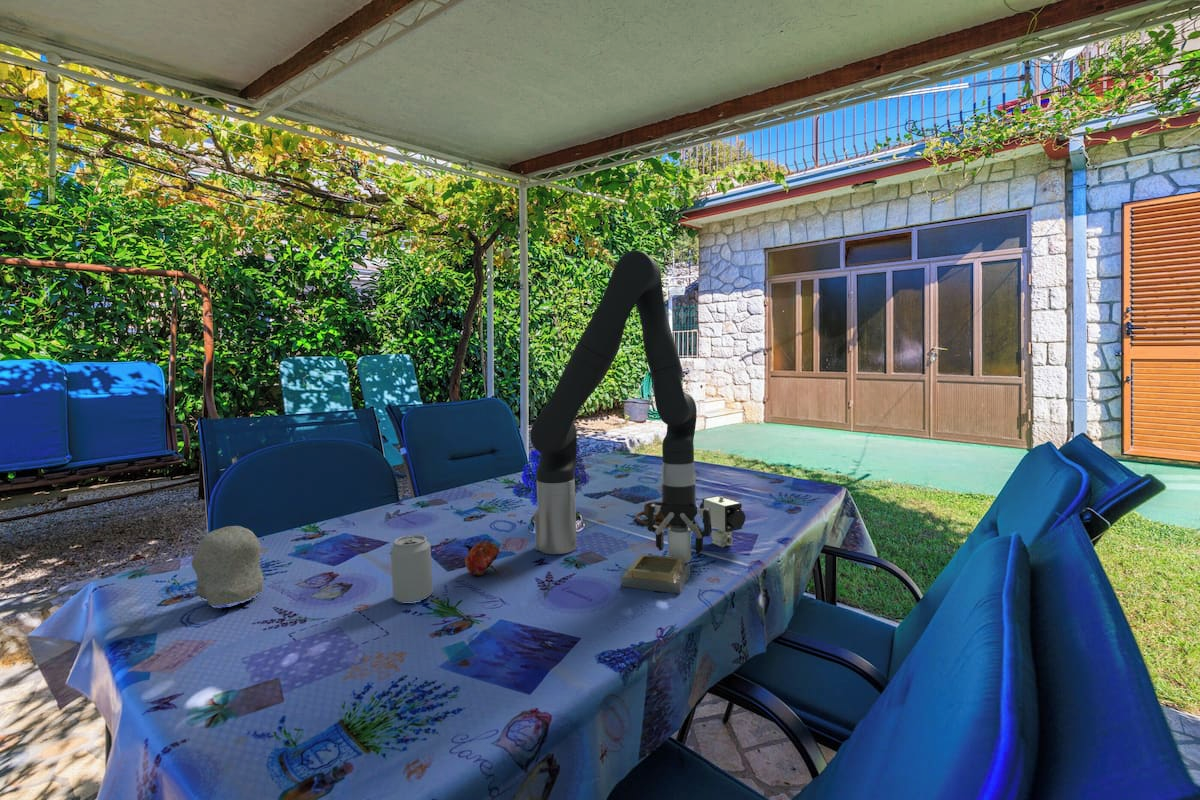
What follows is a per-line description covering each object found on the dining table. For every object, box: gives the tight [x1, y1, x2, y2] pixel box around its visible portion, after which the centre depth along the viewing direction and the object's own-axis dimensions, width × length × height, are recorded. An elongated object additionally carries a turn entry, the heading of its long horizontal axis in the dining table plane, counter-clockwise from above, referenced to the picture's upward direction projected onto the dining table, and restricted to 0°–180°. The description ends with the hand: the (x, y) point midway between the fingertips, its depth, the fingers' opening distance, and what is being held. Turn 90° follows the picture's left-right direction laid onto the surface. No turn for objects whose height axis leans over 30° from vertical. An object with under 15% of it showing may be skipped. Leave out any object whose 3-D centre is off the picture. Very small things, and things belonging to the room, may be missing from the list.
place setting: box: [635, 501, 671, 529], centre depth 161 cm, size 18×20×6 cm
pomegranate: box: [463, 540, 501, 576], centre depth 124 cm, size 7×7×10 cm
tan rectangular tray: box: [621, 553, 691, 595], centre depth 117 cm, size 12×10×4 cm
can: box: [389, 534, 434, 602], centre depth 112 cm, size 8×8×12 cm
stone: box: [191, 525, 264, 606], centre depth 111 cm, size 11×11×15 cm
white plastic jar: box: [667, 525, 692, 565], centre depth 129 cm, size 5×5×8 cm
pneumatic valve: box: [698, 495, 746, 549], centre depth 138 cm, size 6×12×12 cm, turn 29°
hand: (679, 551), depth 129 cm, fingers open, 8 cm apart
